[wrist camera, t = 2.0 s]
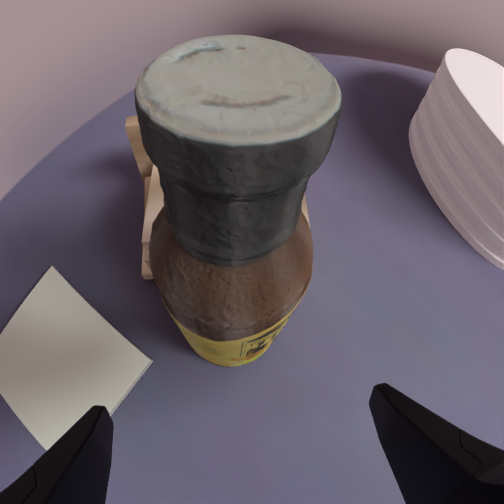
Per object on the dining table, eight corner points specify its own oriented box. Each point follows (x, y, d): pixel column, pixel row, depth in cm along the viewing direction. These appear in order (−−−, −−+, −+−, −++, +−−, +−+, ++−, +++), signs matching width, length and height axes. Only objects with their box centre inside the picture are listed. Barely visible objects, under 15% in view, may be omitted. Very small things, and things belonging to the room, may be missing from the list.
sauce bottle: (256, 380, 21) (383, 314, 3) (174, 349, 22) (-6, 174, 4) (283, 300, 24) (400, 59, 6) (207, 273, 25) (170, 8, 7)
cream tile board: (70, 468, 17) (65, 470, 16) (-14, 366, 19) (-19, 364, 18) (153, 361, 21) (150, 360, 21) (56, 268, 24) (51, 265, 23)
